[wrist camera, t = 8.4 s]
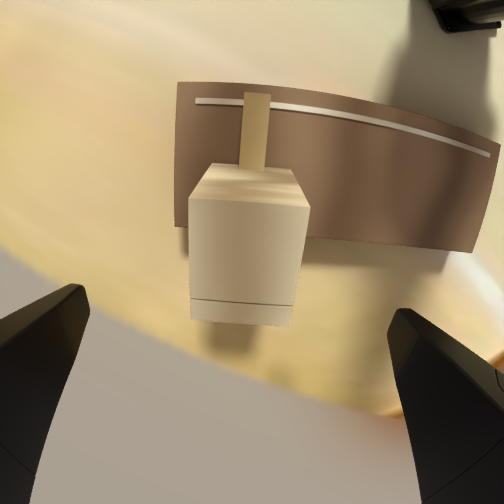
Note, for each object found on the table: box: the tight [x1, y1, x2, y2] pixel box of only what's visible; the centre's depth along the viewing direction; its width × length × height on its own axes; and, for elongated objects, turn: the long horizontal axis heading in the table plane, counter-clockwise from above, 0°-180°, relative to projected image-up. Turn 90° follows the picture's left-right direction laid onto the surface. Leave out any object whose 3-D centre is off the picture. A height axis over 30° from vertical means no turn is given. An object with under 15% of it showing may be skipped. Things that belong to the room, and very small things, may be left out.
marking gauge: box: [188, 92, 311, 327], centre depth 14 cm, size 4×9×8 cm, turn 175°
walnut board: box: [174, 82, 501, 253], centre depth 17 cm, size 20×8×3 cm, turn 85°
